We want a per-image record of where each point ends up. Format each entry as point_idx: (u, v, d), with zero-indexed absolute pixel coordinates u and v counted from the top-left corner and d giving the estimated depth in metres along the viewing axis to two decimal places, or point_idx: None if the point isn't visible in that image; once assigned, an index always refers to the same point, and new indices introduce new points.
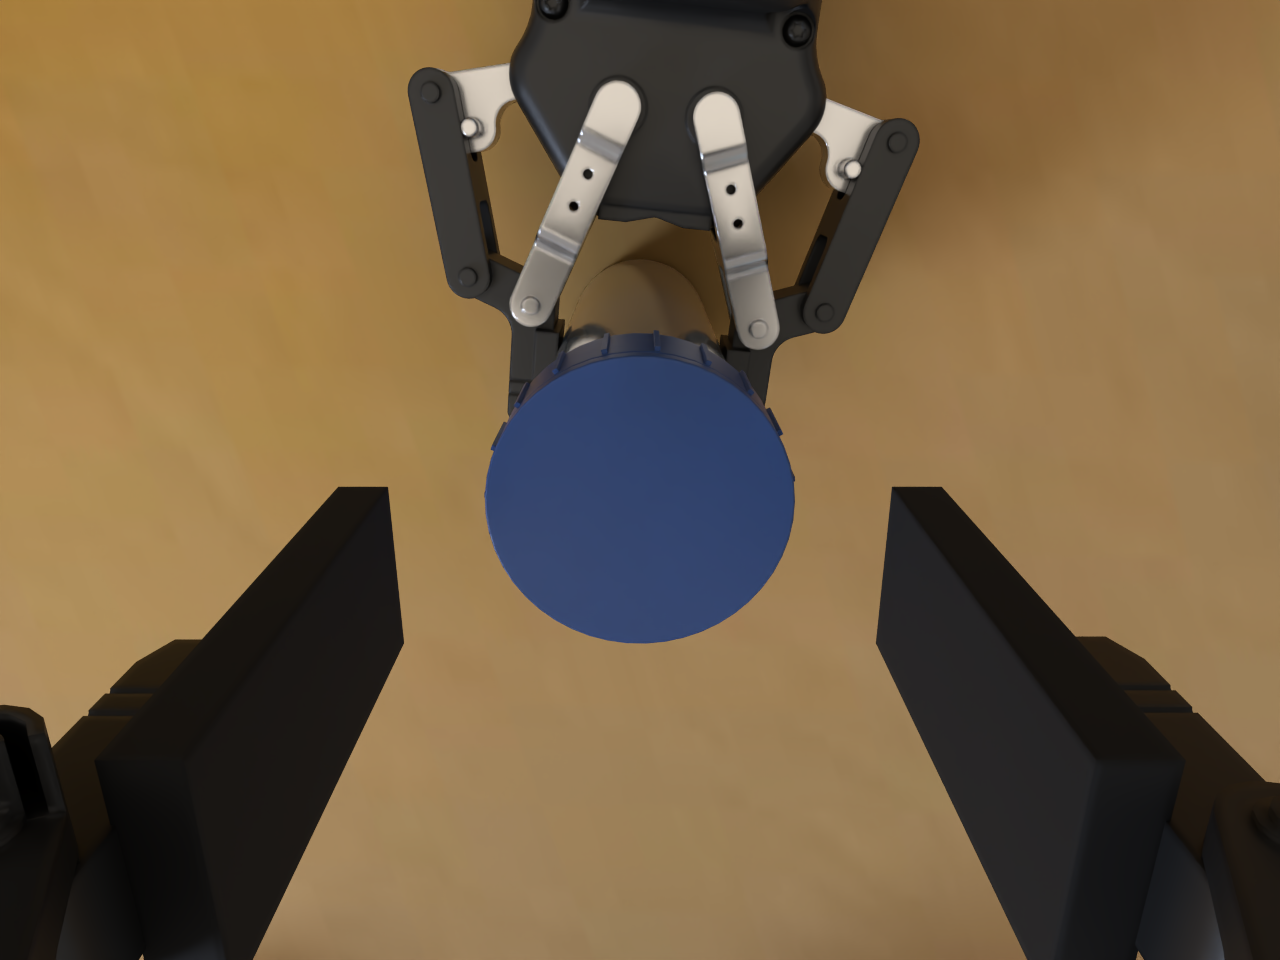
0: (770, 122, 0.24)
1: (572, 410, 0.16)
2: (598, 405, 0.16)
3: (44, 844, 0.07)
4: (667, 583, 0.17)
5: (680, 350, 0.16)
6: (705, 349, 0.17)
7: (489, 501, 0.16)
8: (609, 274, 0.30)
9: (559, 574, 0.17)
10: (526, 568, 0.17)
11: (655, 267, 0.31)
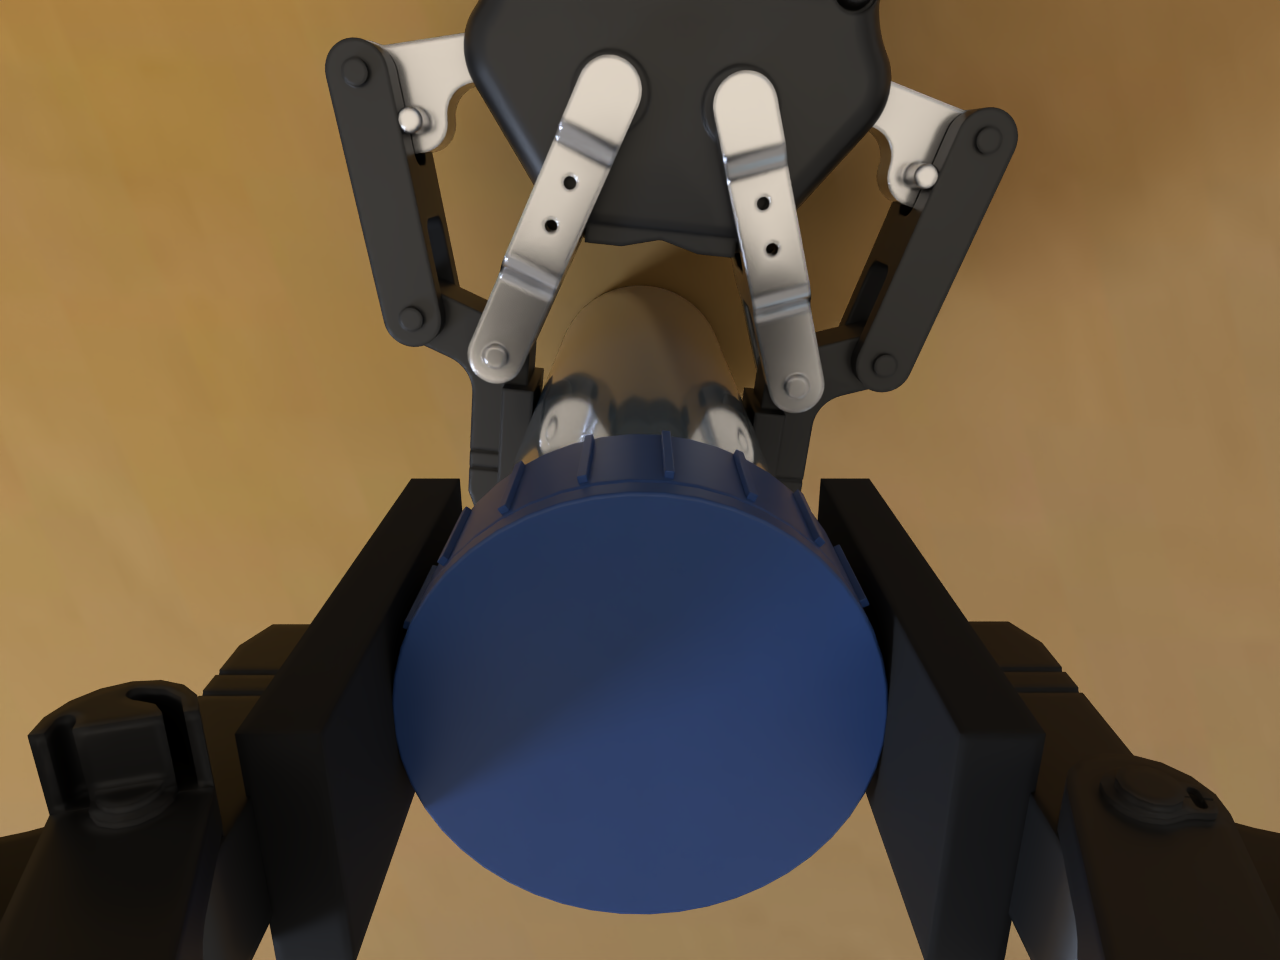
0: (816, 112, 0.18)
1: (529, 577, 0.10)
2: (572, 570, 0.10)
3: (194, 817, 0.07)
4: (683, 831, 0.11)
5: (705, 472, 0.10)
6: (743, 465, 0.11)
7: (399, 713, 0.10)
8: (601, 306, 0.24)
9: (513, 818, 0.11)
10: (461, 810, 0.11)
11: (659, 297, 0.24)
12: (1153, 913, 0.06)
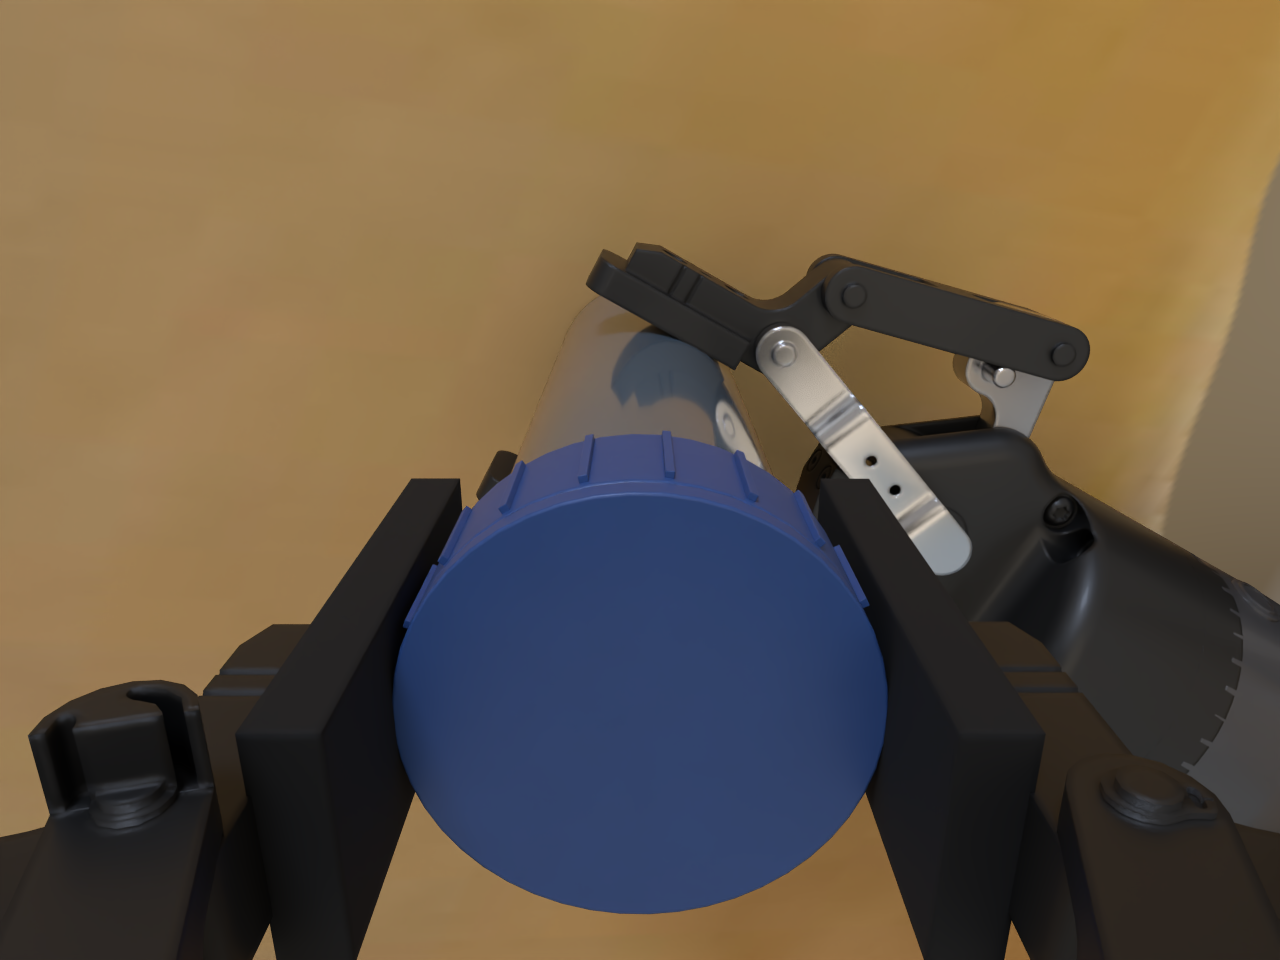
0: None
1: (530, 576, 0.10)
2: (572, 569, 0.10)
3: (195, 817, 0.07)
4: (683, 831, 0.11)
5: (706, 472, 0.10)
6: (744, 465, 0.11)
7: (399, 712, 0.10)
8: None
9: (513, 818, 0.11)
10: (461, 809, 0.11)
11: None
12: (1153, 914, 0.06)
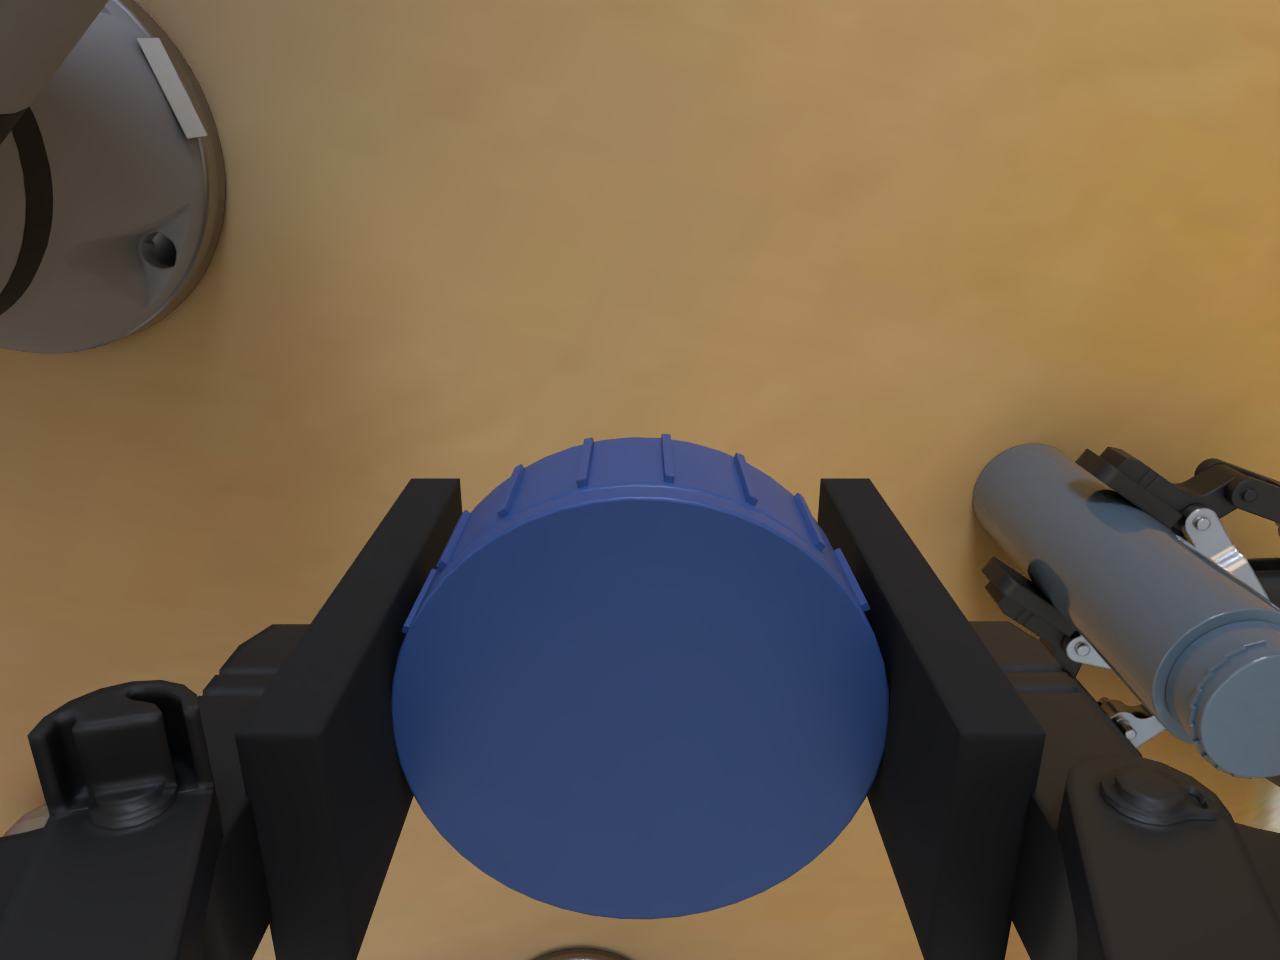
0: None
1: (529, 581, 0.10)
2: (572, 574, 0.10)
3: (194, 817, 0.07)
4: (683, 836, 0.11)
5: (706, 476, 0.10)
6: (744, 468, 0.11)
7: (398, 717, 0.10)
8: None
9: (513, 823, 0.11)
10: (460, 814, 0.11)
11: None
12: (1153, 913, 0.06)
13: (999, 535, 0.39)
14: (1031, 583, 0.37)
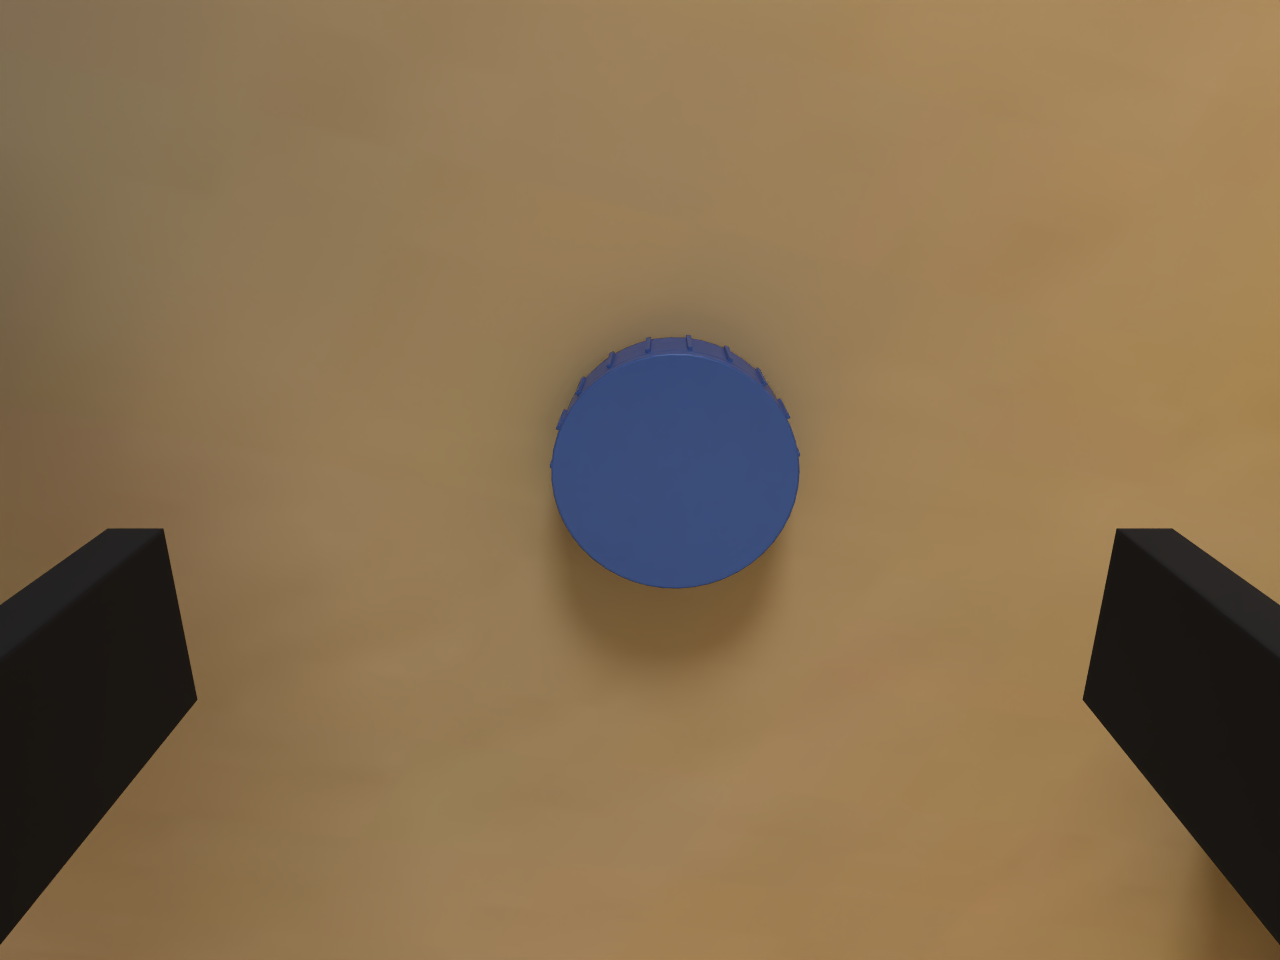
0: None
1: (622, 396, 0.20)
2: (643, 392, 0.20)
3: None
4: (696, 538, 0.21)
5: (708, 350, 0.20)
6: (728, 350, 0.21)
7: (555, 470, 0.21)
8: None
9: (609, 530, 0.21)
10: (583, 525, 0.21)
11: None
12: None
13: None
14: None
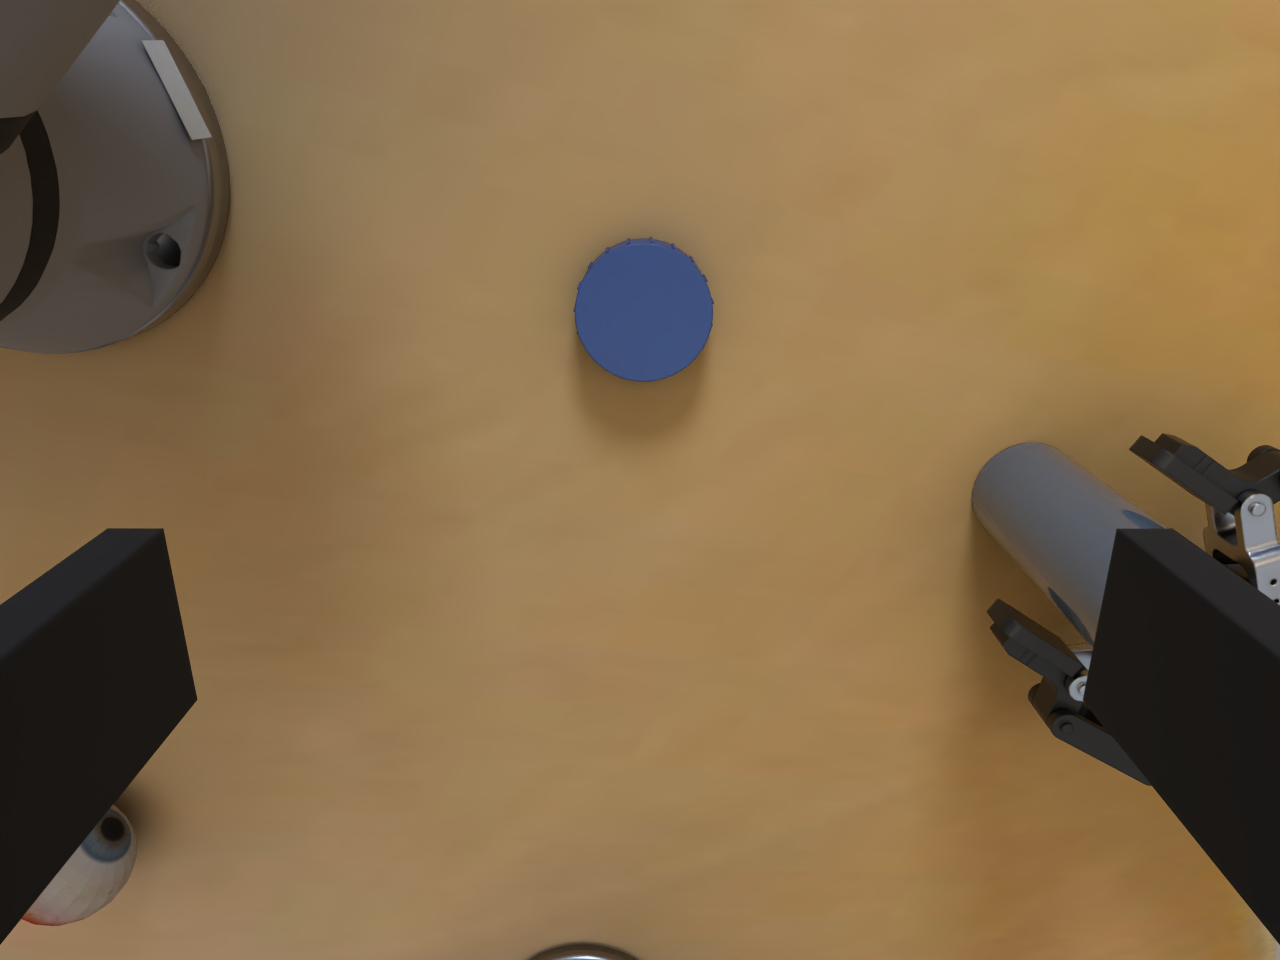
0: None
1: (614, 268, 0.36)
2: (625, 265, 0.36)
3: None
4: (656, 351, 0.37)
5: (661, 243, 0.37)
6: (673, 244, 0.37)
7: (576, 311, 0.37)
8: None
9: (607, 346, 0.37)
10: (592, 343, 0.37)
11: None
12: None
13: (998, 533, 0.39)
14: (1034, 624, 0.38)
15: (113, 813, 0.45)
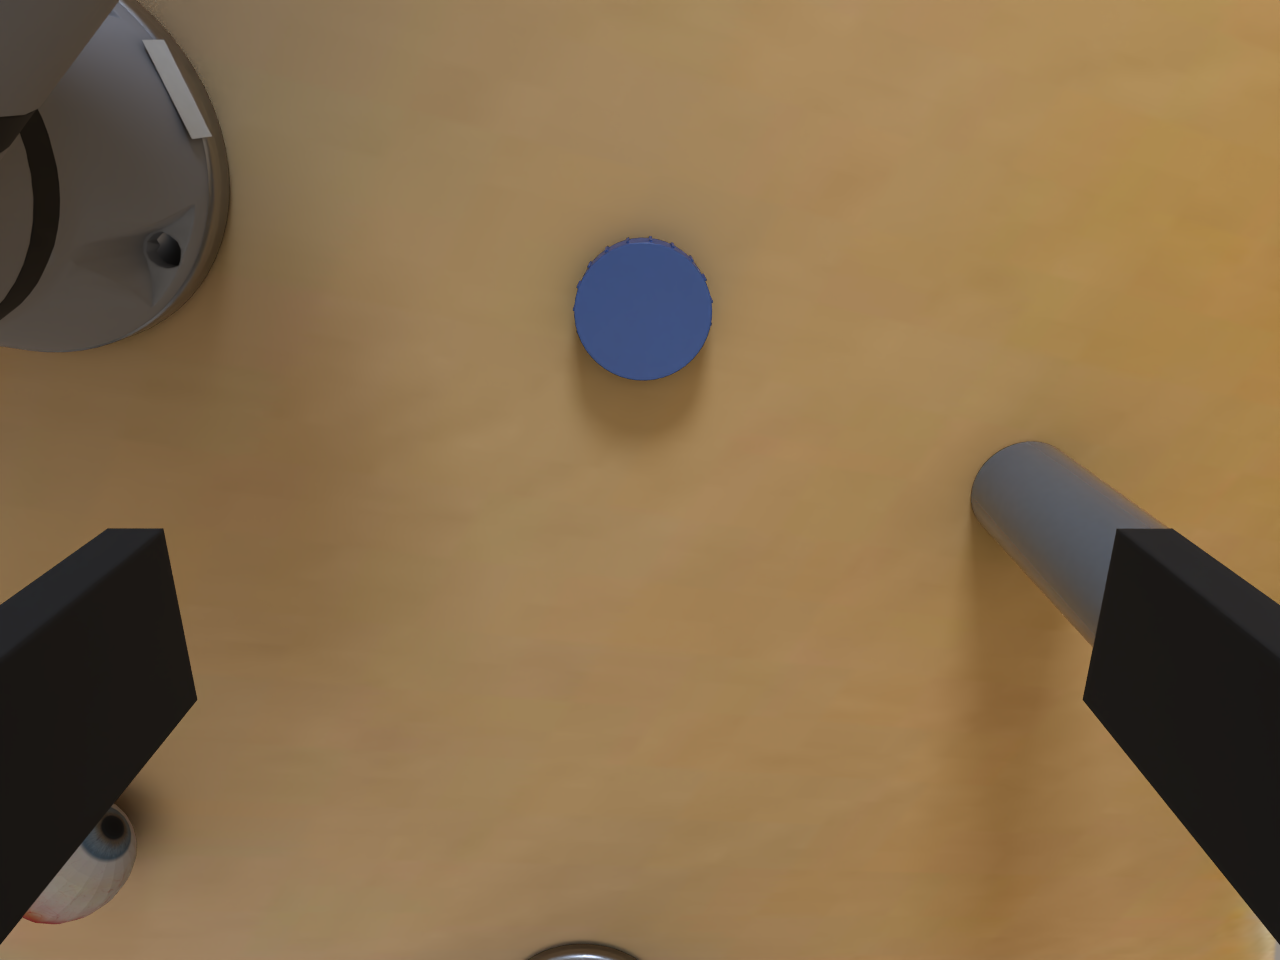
0: None
1: (613, 267, 0.36)
2: (625, 264, 0.36)
3: None
4: (655, 349, 0.37)
5: (661, 242, 0.37)
6: (672, 243, 0.37)
7: (576, 310, 0.37)
8: None
9: (606, 345, 0.37)
10: (592, 342, 0.37)
11: None
12: None
13: (997, 532, 0.39)
14: None
15: (113, 811, 0.45)
